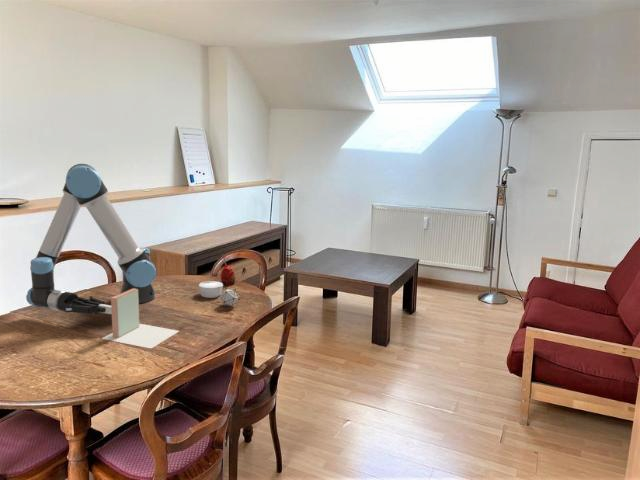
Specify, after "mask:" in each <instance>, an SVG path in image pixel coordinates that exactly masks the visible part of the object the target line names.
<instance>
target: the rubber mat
mask: <svg viewBox="0 0 640 480" xmlns="http://www.w3.org/2000/svg"><path fill="white" fill-rule="evenodd" d="M139 326H140V327H138V328H136V329H134V330H132V331H130V332H129V333H127V334H125V335H123V336H121V337H119V338H114V337H113V332H112V333H109V334H108V335H106V336H104V337H102V338H101V340H106V341H112V342H117V343H121V344H127V345H132V346H137V347H141V348H146V349H152V348H154V347H156V346H158V345H159V344H161V343H163V342H164V341H166V340H168V339H169V338H171V337H173V336H174V335H176V334H177V333H179V332H180V330H176V329H171V328H166V327H159V326H155V325H154V326H153V325H149V324H144V323H139Z"/></svg>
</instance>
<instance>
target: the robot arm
mask: <svg viewBox="0 0 640 480" xmlns="http://www.w3.org/2000/svg"><path fill="white" fill-rule="evenodd" d="M108 193H109V190H108V188H107V187H106V185H105V183H104V182H103V180H102V178H101V176H100V174H99V173H98V171H97V170H96V169H95V168H94V167H93V166H92V165H90V164H87V163H76V164H74V165H73V166H71V167H70V168H69V169H68V171H67V173H66V176H65V183H64V186H63V188H62V194H63V195H62V197H61V200H60V201H59V204H58V207H57V209H56V211H55V213H54V216H53V219H52V220H51V222H50V225H49V227H48V229H47V232H46V234H45V236H44V238H43V240H42V243H41V245H40V248H39V250H38V252H37V255H35V258H33V259H31V260H30V268H29V269H30V276H31V286H32V287H30V288H29V289H28V290H27V294H26V295H25V296H26V297H25V298H26V301H27V304H29V305H31V306H33V307H36V308H44V309H49V310H54V311H57V312H63V313H67V314H68V313H76V314H78V313H79V314H90V315H91V314H93V313H94V314H95V315H98V314H99V313H103V314H108V315H112V311H111V304H110V305H109V304H106V303H105V301H104V300H102V299H98V298H96V297H93V296H88V298H85V297H79V295H78V294H76V293H74V292H70V291H64V290H59V289H55V279H54V278H55V277H54V273H55V267H56V263H57V262H58V259H59V257H60V254H61V252H62V249H63V248H64V245H65V243H66V241H67V239H68V237H69V234H70V232H71V230H72V227H73V225H74V223H75V220H76V219H77V216H78V214H79V212H80V209H81V208H82V207H85V208H86V209H87V211H88V212H89V214H90V215H91V217H92V219H93V220H94V221H95V223H96V225H97V226H98V228H99V230H100V231H101V232H102V234H103V235H104V237H105V239H106V240H107V242H108V244H109V245H110V247H111V249H112V250H113V252H114V253H115V254H116V256H117V257H118V260H117V265H118V266H119V268H120V269H121V271H122V272H121V273H122V283H121V284H122V285H121V288H120V291H119V294H121V293H123V292H126V291H128V290H131V289H133V288H134V289H138V298H139V304H144V303H147V302H151V301H153V300H155V298H156V291H155V288H154V286H153V284H152V283H153V282H154V280H155V279H156V276H157V270H156V266H155V265H154V263H153V262H152V260H151V250H150V248H148V247H139V246H138V244H137V243H136V242H135V240H134V239H133V237H132V235H131V233H130V232H129V230H128V228H127V227H126V226H125V224H124V222H123V220H122V219H121V218H120V216H119V214H118V213H117V211H116V209H115V207H114V206H113V204H112V202H111V201H110V199H109V198H108Z"/></svg>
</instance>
